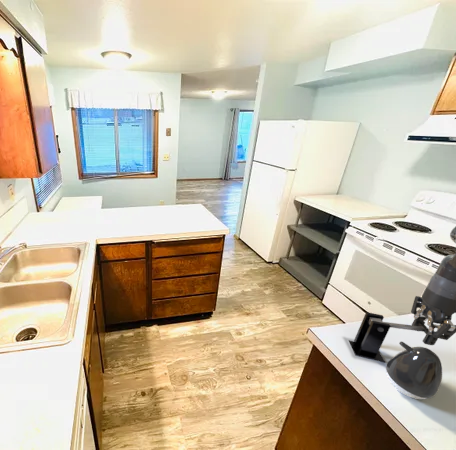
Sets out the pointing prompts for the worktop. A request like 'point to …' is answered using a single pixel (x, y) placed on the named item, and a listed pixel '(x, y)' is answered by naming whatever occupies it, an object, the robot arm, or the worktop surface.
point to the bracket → (370, 338)
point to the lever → (403, 325)
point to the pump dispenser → (415, 372)
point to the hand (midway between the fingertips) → (421, 336)
